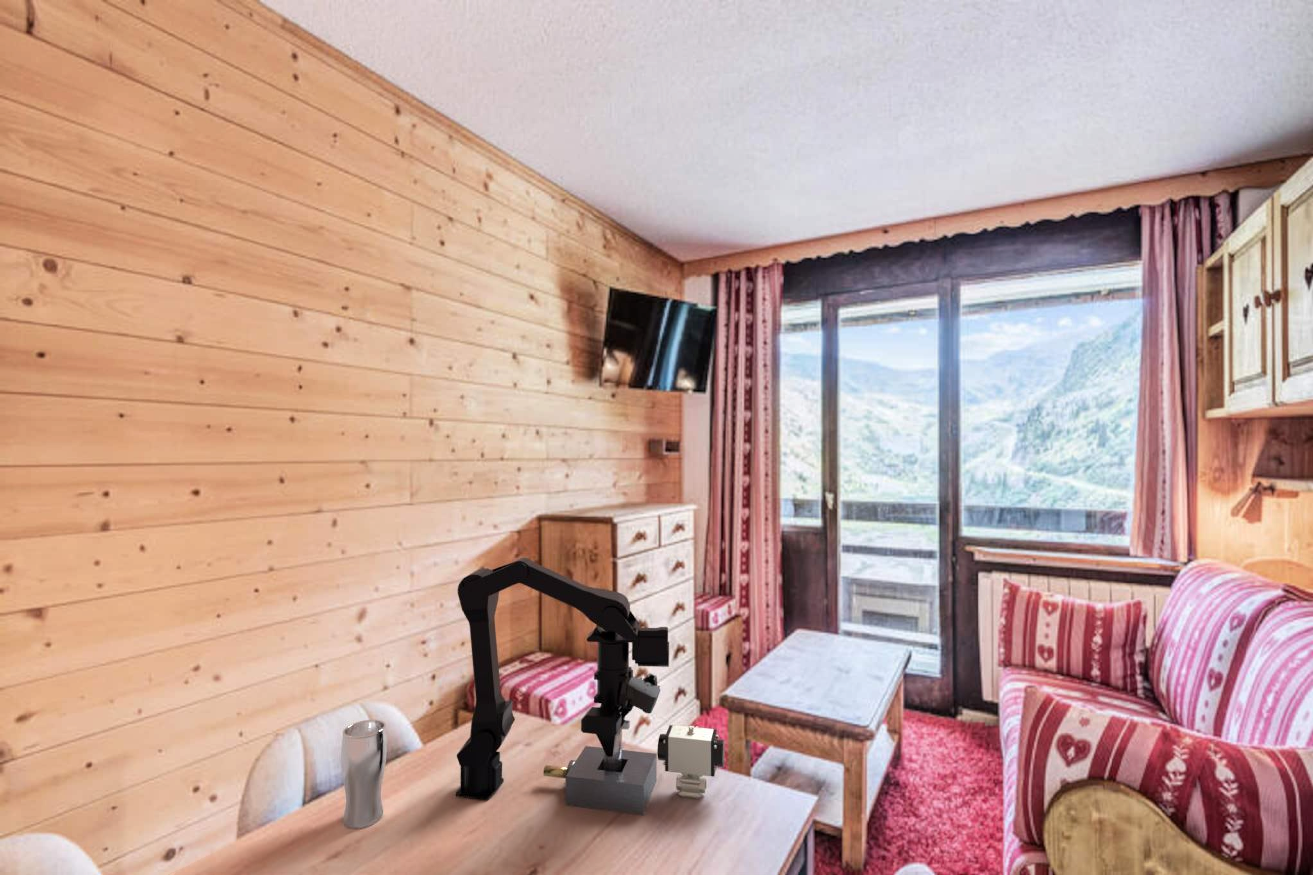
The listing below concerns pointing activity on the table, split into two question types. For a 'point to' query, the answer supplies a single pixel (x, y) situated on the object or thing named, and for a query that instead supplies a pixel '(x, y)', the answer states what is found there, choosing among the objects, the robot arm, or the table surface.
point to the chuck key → (616, 752)
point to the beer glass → (363, 772)
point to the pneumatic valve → (691, 756)
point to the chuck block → (608, 781)
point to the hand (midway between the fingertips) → (612, 751)
